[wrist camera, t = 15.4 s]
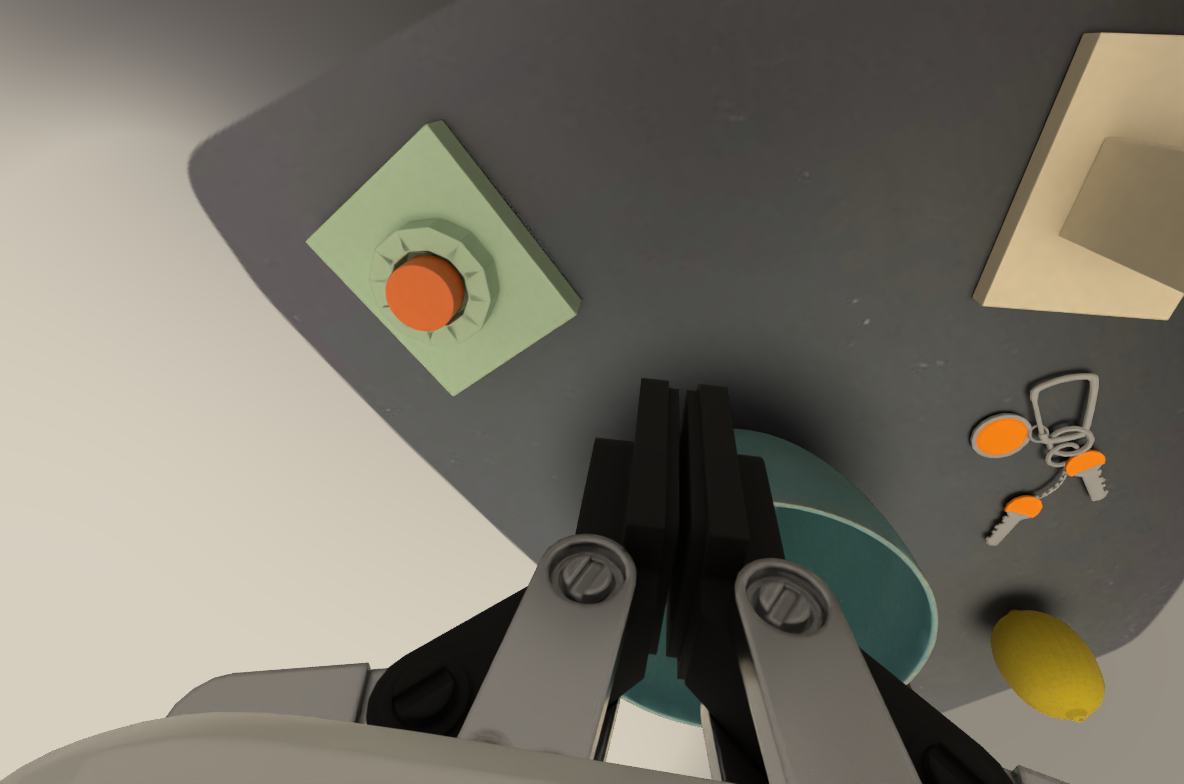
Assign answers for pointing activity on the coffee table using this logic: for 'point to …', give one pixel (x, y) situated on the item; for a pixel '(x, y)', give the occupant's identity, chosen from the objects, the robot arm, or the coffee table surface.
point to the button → (425, 292)
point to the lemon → (1047, 665)
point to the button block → (447, 257)
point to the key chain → (1015, 432)
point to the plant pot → (824, 572)
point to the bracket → (1101, 189)
